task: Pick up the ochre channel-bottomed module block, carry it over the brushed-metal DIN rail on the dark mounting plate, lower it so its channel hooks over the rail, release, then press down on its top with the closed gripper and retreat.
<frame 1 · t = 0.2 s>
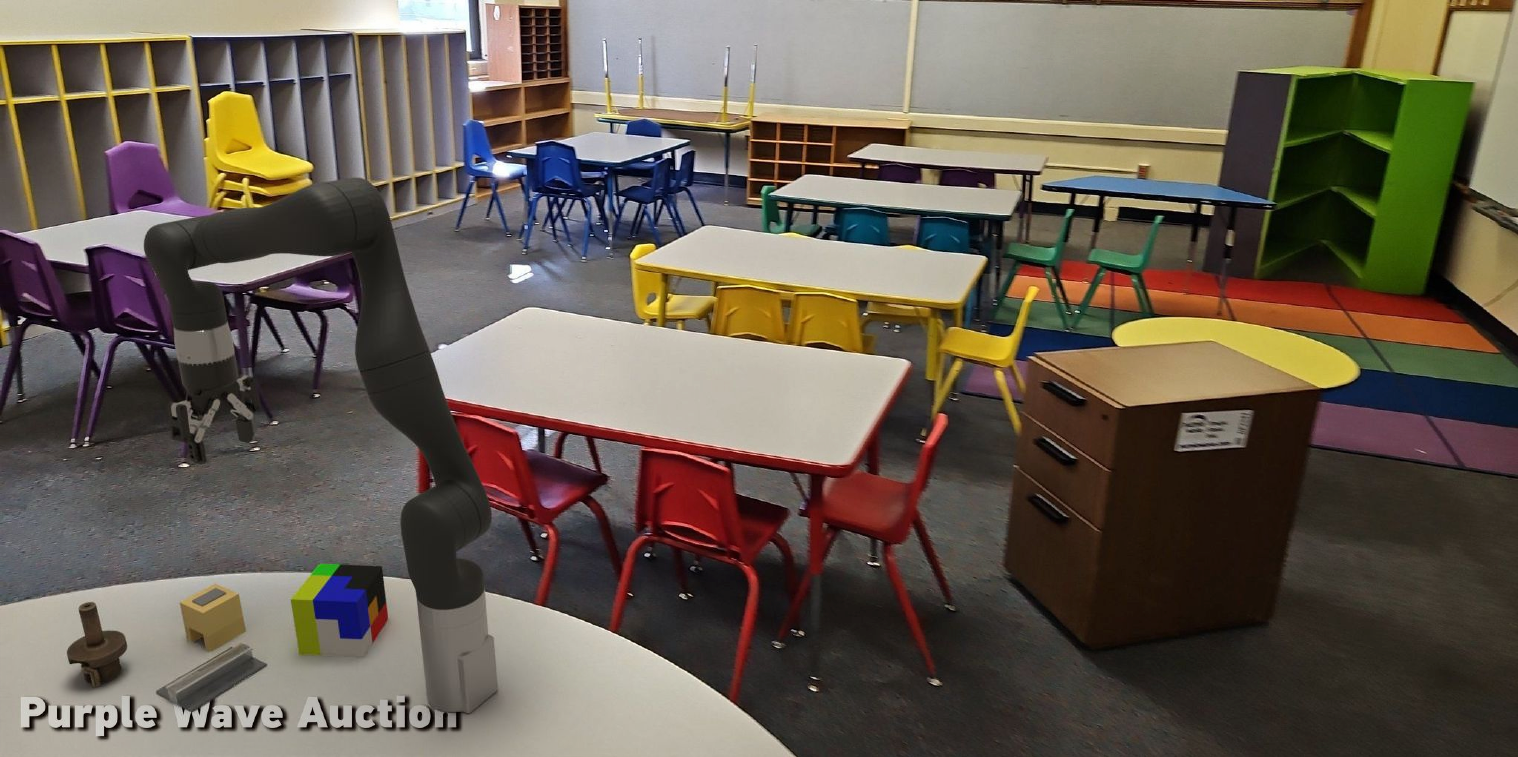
hand: (223, 451, 154), 28 cm above the table, fingers open, 8 cm apart
industrial component: (108, 672, 148), on the table
module: (216, 635, 156), on the table
puzzle toy: (345, 637, 157), on the table
din rail: (212, 679, 147), on the table
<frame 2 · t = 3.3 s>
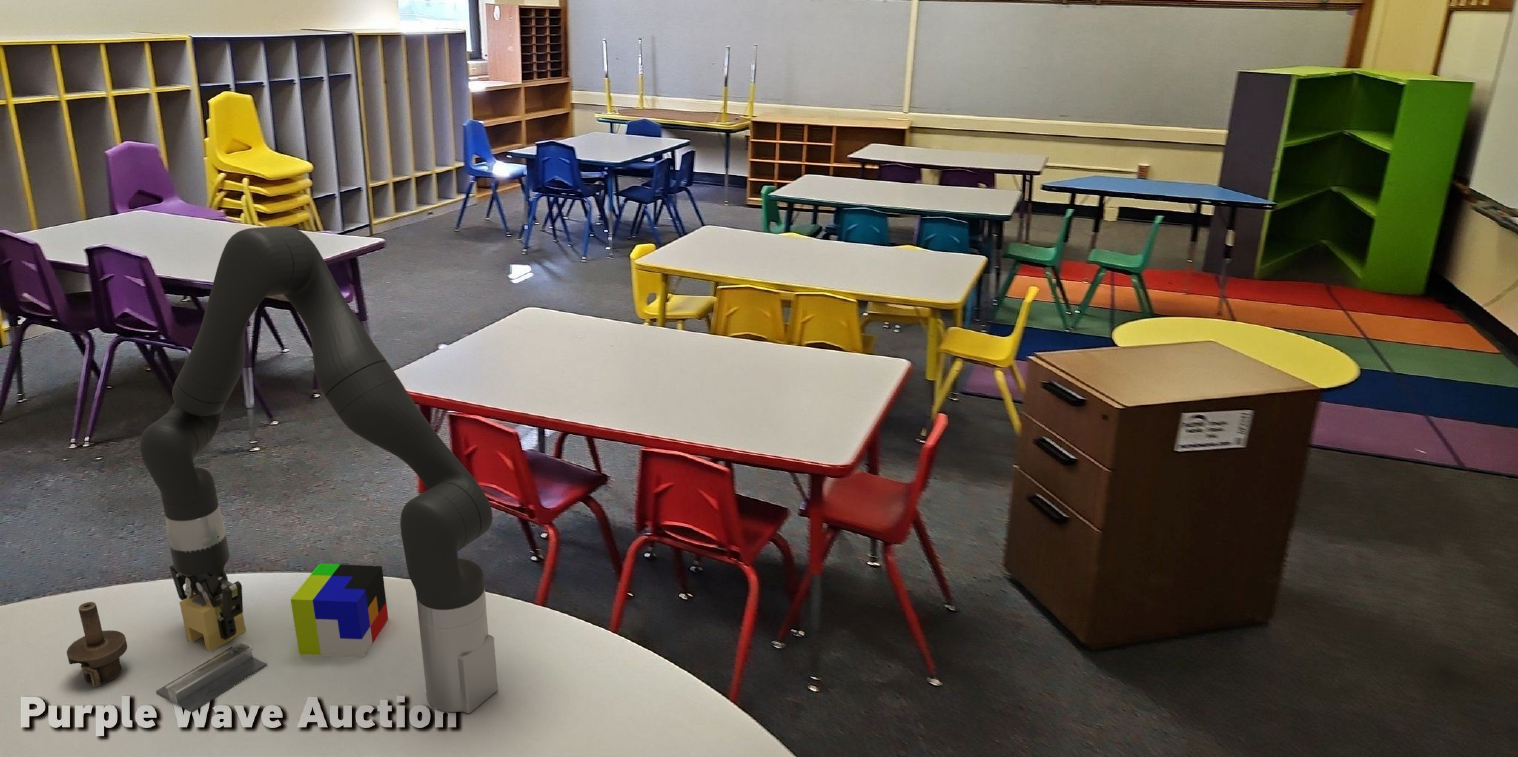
hand: (215, 630, 156), 1 cm above the table, fingers closed on module, 5 cm apart
module: (216, 635, 156), on the table, touching gripper
everything else where it was.
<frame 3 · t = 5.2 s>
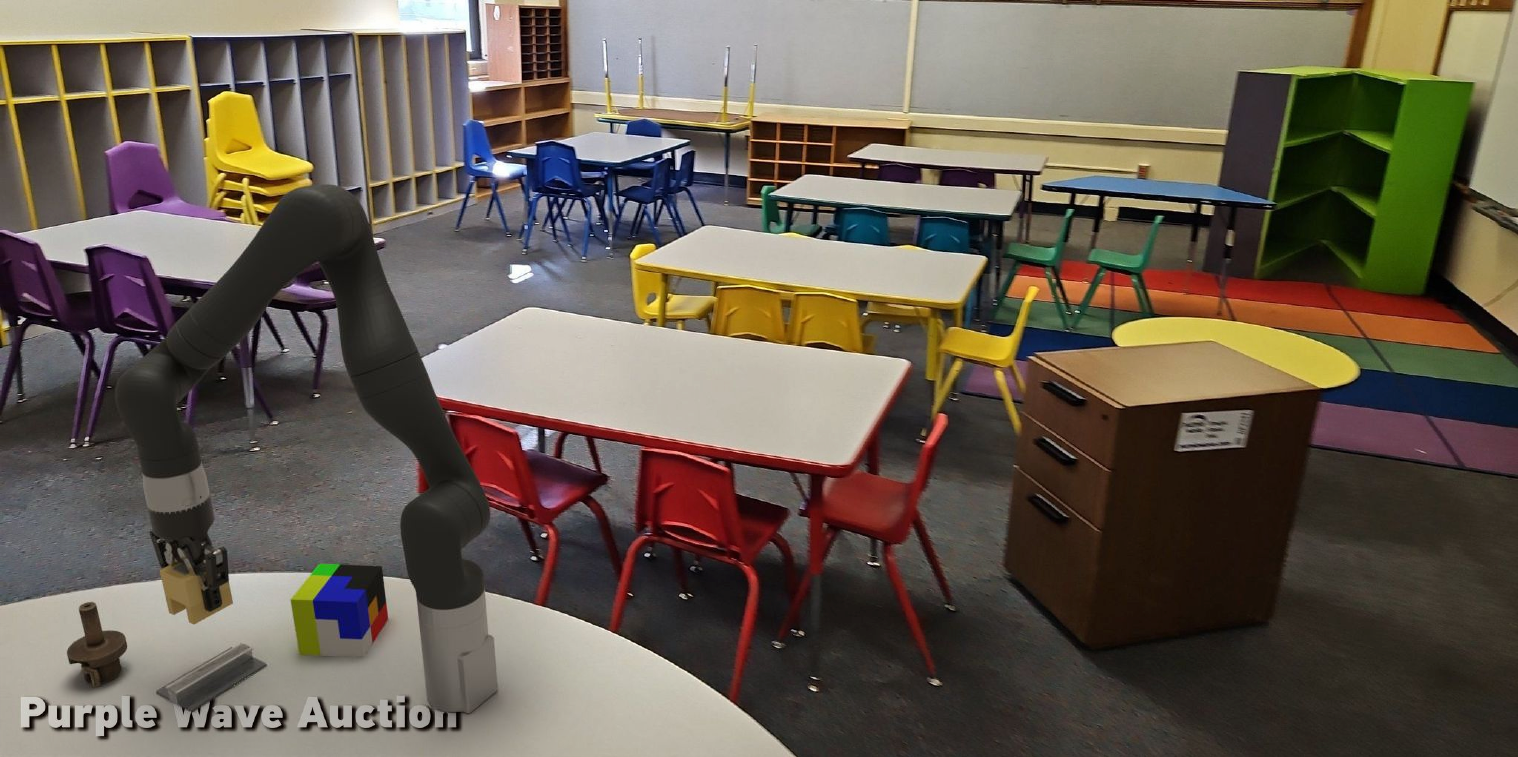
hand: (200, 601, 142), 13 cm above the table, fingers closed on module, 5 cm apart
module: (201, 608, 142), point 12 cm above the table, touching gripper
everything else where it was.
when the fingers open (2 cm above the table, at t = 7.4 s): module stays where it is, resting on din rail.
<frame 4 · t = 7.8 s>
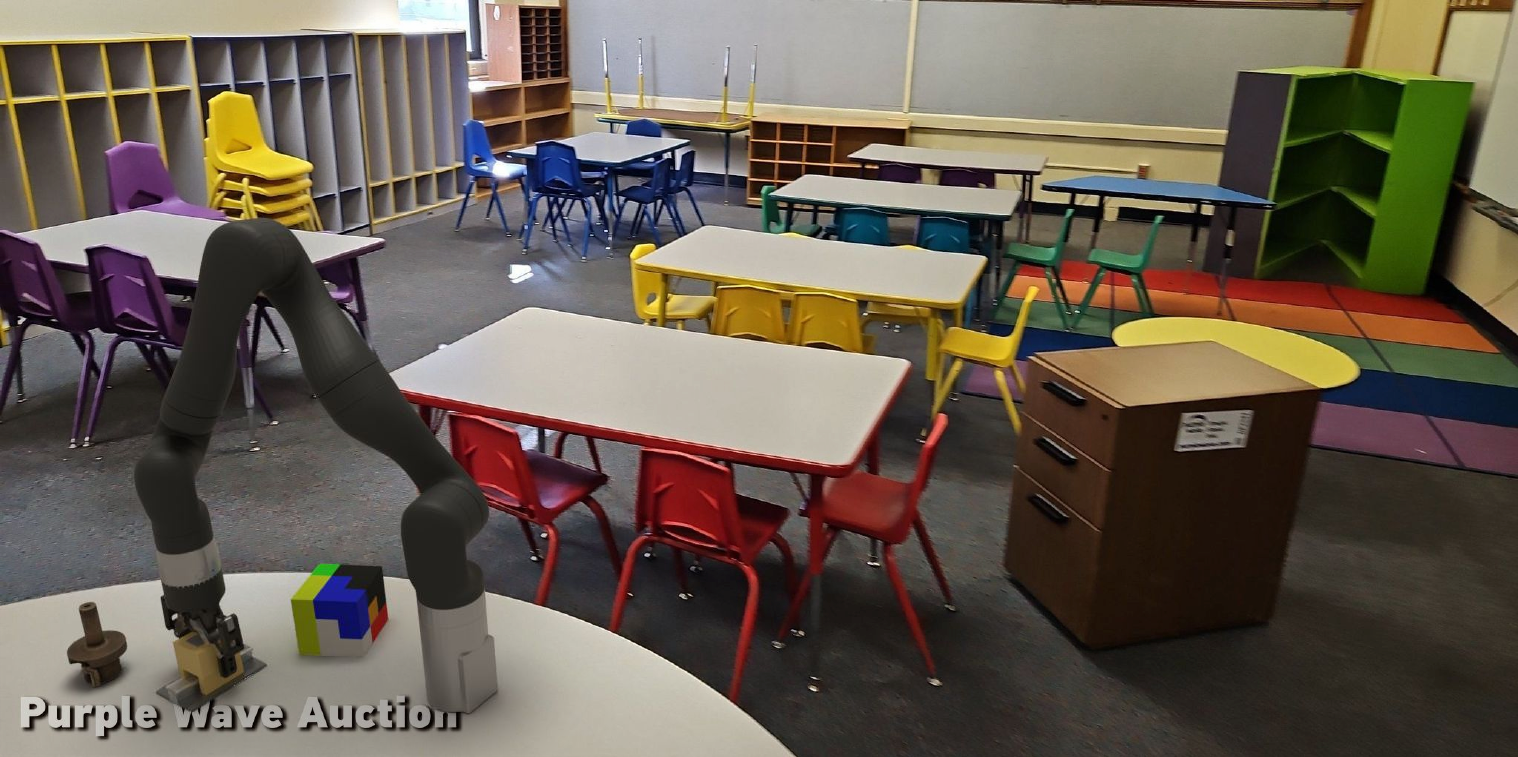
hand: (210, 665, 146), 2 cm above the table, fingers open, 8 cm apart
module: (212, 677, 146), resting on din rail
everything else where it was.
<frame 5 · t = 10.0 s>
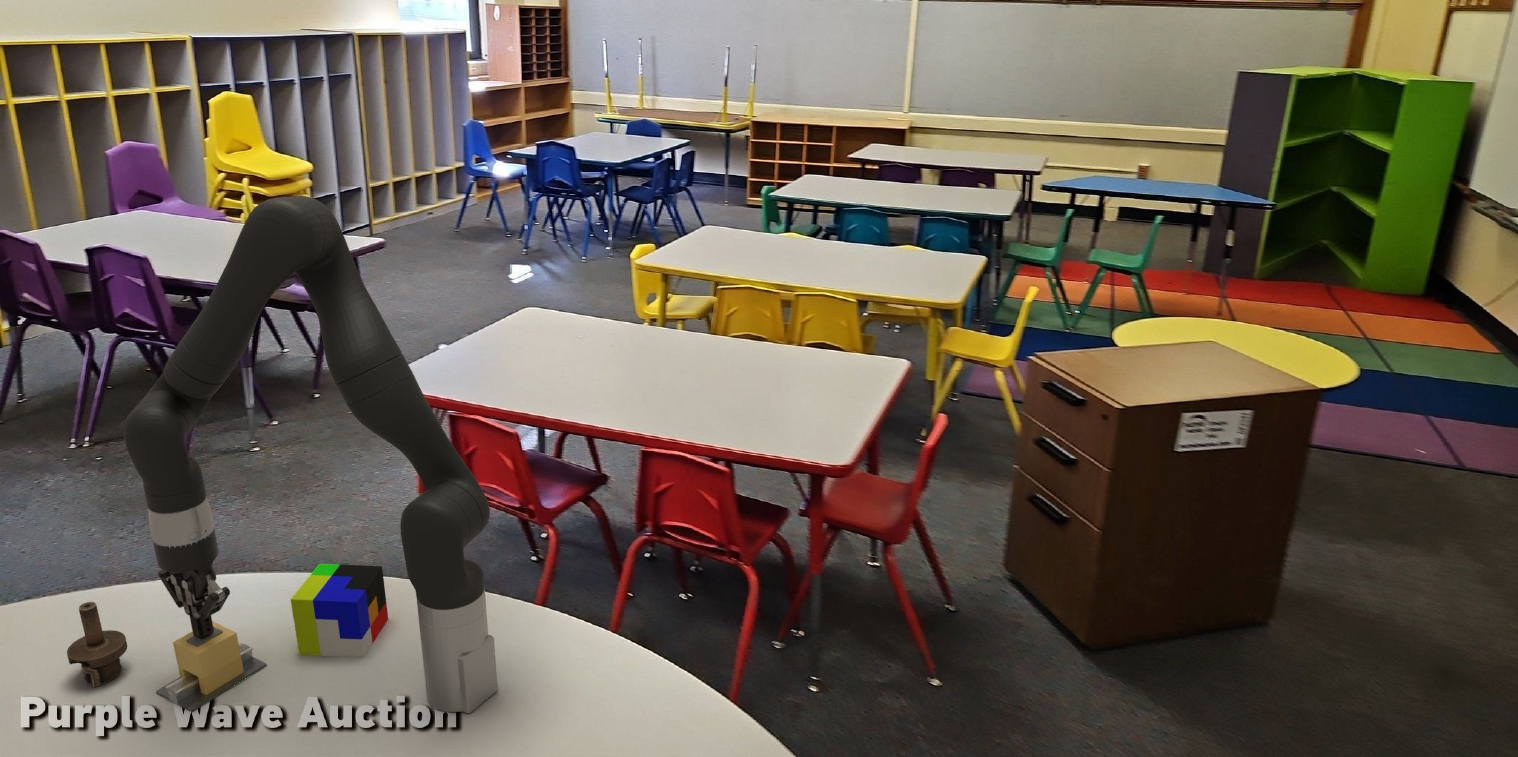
hand: (203, 634, 144), 8 cm above the table, fingers closed
module: (212, 677, 146), resting on din rail, touching gripper
everything else where it was.
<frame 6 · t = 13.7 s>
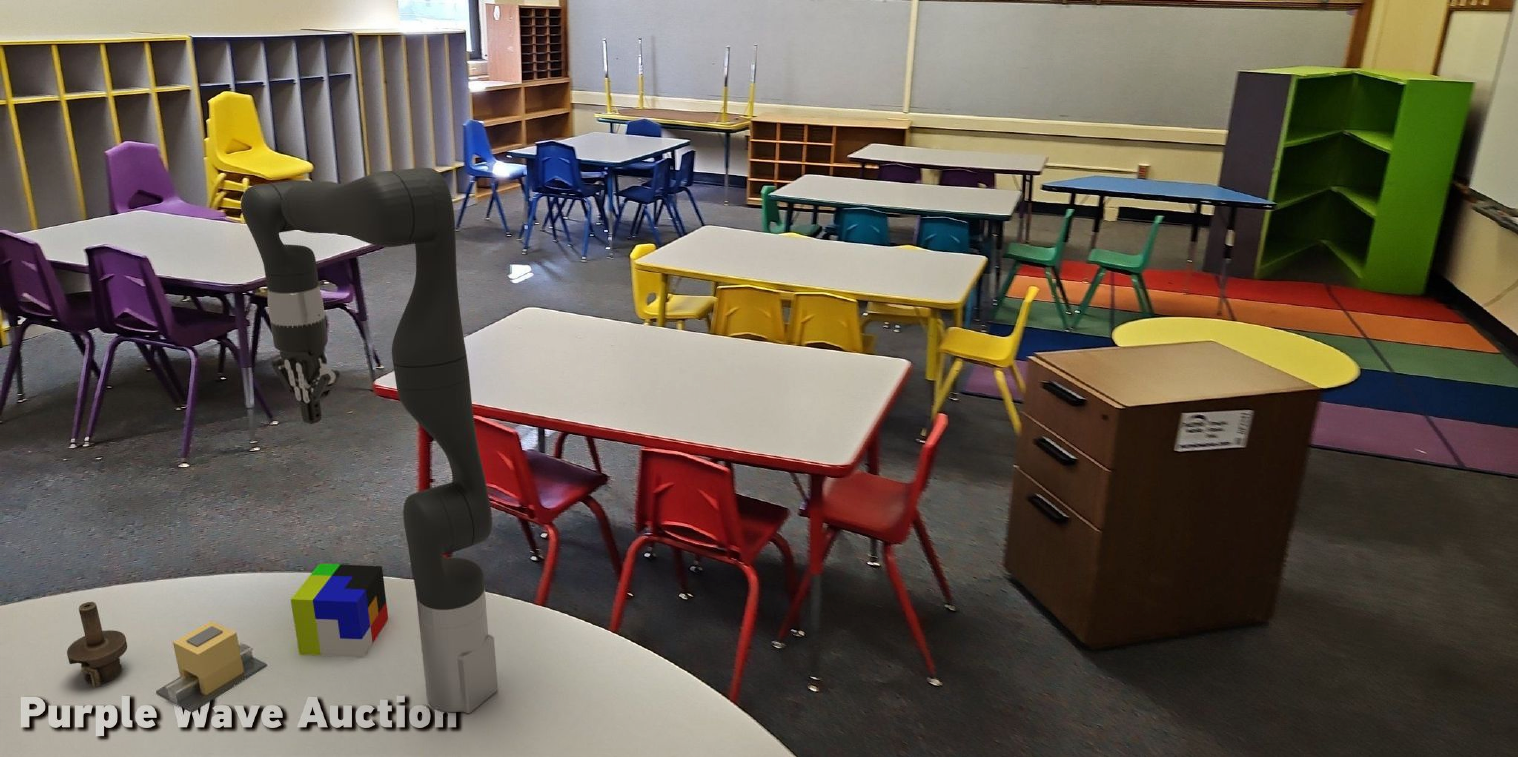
hand: (312, 421, 156), 32 cm above the table, fingers closed
module: (212, 677, 146), resting on din rail
everything else where it was.
at the end: module 0.1 cm off-centre on the din rail, point 0.4 cm above the din rail's base; module tilted 0°; the gripper is holding nothing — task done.
